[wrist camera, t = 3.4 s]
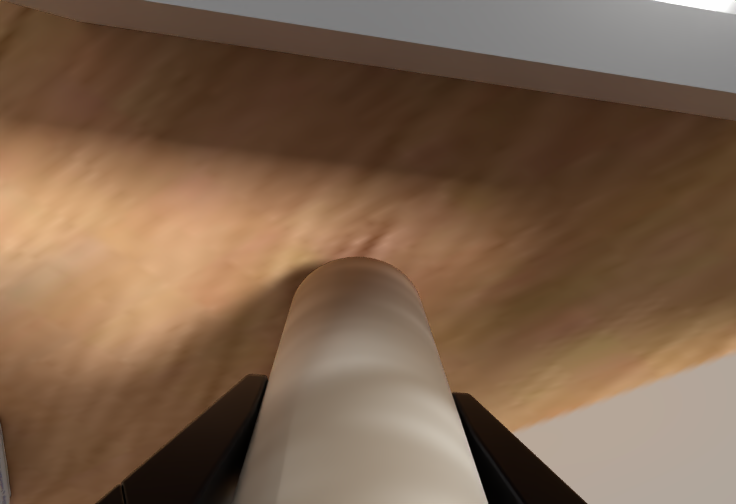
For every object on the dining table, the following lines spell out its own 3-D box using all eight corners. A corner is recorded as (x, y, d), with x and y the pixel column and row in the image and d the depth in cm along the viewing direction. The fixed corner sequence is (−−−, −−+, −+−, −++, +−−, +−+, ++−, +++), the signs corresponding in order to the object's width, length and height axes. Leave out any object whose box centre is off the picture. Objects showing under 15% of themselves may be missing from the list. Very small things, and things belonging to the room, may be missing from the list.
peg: (434, 264, 12) (744, 907, 2) (410, 379, 13) (549, 1066, 4) (294, 249, 11) (38, 912, 2) (285, 367, 13) (106, 1084, 4)
